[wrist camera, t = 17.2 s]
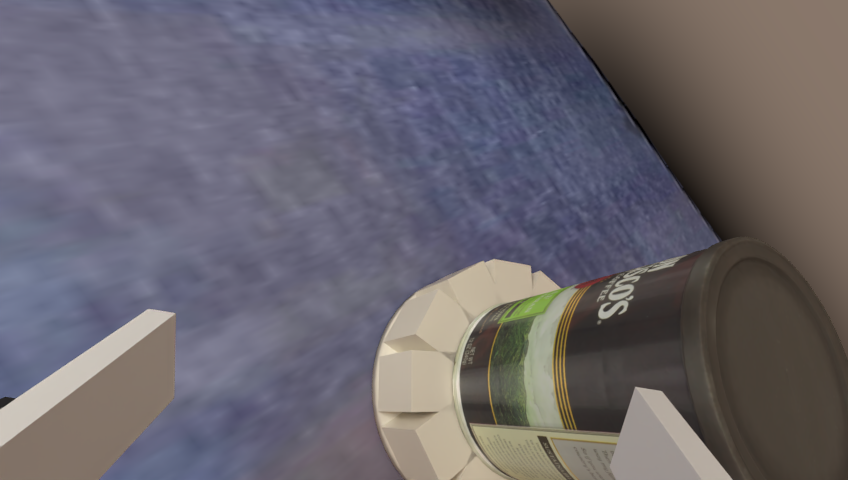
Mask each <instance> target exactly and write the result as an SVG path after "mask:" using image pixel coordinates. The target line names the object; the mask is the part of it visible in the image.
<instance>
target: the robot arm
mask: <svg viewBox="0 0 848 480" xmlns="http://www.w3.org/2000/svg"><path fill="white" fill-rule="evenodd" d="M175 327H176V313H171V312H165V311H159V310H152V309H148V310H146V311H145V312H143V313H142V314H140V315H139V316H137V317H136V318H134V319H133V320H131V321H130V322H129V323H127V324H126V325H124V326H123V327H121V328H120V329H118V330H117V331H115V332H114V333H112V334H111V335H109V336H108V337H106V338H105V339H103V340H102V341H100V342H99V343H98V344H96V345H95V346H93V347H92V348H90V349H89V350H87V351H86V352H84V353H83V354H81V355H80V356H78V357H77V358H75V359H74V360H72V361H71V362H69V363H68V364H67V365H65V366H64V367H62V368H61V369H59V370H58V371H56V372H55V373H53V374H52V375H50V376H49V377H47V378H46V379H44V380H43V381H41V382H40V383H38V384H37V385H36V386H34V387H33V388H31V389H30V390H28V391H27V392H25V393H24V394H22V395H21V396H19V397H18V398H16V399H15V398H9V397H4V398H2V399H0V480H99V479H100V477H101V476H102V475H103V474H104V473H105V472H106V471H107V470H108V469H109V468H110V467H111V466H112V465H113V463H114V462H115V461H116V460H117V459H118V458H119V457H120V456H121V455H122V454H123V453H124V452H125V450H126V449H127V448H128V447H129V446H130V445H131V444H132V443H133V442H134V441H135V440H136V439H137V438H138V436H139V435H140V434H141V433H142V432H143V431H144V430H145V429H146V428H147V427H148V426H149V425H150V424H151V422H152V421H153V420H154V419H155V418H156V417H157V416H158V415H159V414H160V413H161V412H162V411H163V409H164V408H165V407H166V406H167V405H168V404H169V403H170V402H171V401H172V400H173V399H174V381H175ZM610 469H611V471H612V473H613V475H614V477H615V479H616V480H732V478H731V477H730V476H729V475H728V473H727V472H726V471H725V470H724V468H723V467H722V466H721V465H720V463H719V462H718V461H717V460H716V458H715V457H714V456H713V455H712V453H711V452H710V451H709V450H708V448H707V447H706V446H705V445H704V443H703V442H702V441H701V440H700V438H699V437H698V436H697V435H696V433H695V432H694V431H693V430H692V428H691V427H690V426H689V425H688V423H687V422H686V421H685V420H684V418H683V417H682V416H681V415H680V413H679V412H678V411H677V410H676V408H675V407H674V406H673V405H672V403H671V402H670V401H669V400H668V398H667V397H666V396H665V395H664V393H663V392H662V391H658V390H652V389H646V388H640V387H635V389H634V392H633V395H632V399H631V402H630V405H629V408H628V411H627V414H626V417H625V420H624V423H623V426H622V430H621V433H620V436H619V439H618V442H617V445H616V448H615V451H614V454H613V458H612V461H611V464H610Z"/></svg>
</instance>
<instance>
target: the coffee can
mask: <svg viewBox="0 0 848 480" xmlns="http://www.w3.org/2000/svg"><path fill="white" fill-rule="evenodd" d="M635 387H640V388H646V389H652V390H658V391H662V392H663V393H664V395H665V396H666V397H667V398H668V400H669V401H670V402H671V403H672V405H673V406H674V407H675V408H676V410H677V411H678V412H679V413H680V415H681V416H682V417H683V418H684V420H685V421H686V422H687V423H688V425H689V426H690V427H691V428H692V430H693V431H694V432H695V433H696V435H697V436H698V437H699V438H700V440H701V441H702V442H703V443H704V445H705V446H706V447H707V448H708V450H709V451H710V452H711V453H712V455H713V456H714V457H715V458H716V460H717V461H718V462H719V463H720V465H721V466H722V467H723V468H724V470H725V471H726V472H727V473H728V475H729V476H730V477H731V478H732V480H848V360H847V357H846V355H845V352H844V350H843V347H842V344H841V342H840V339H839V337H838V335H837V332H836V330H835V328H834V326H833V325H832V323H831V320H830V317H829V316H828V314H827V312H826V311H825V309H824V307H823V305H822V304H821V302H820V301H819V299H818V297H817V296H816V294H815V293H814V291H813V290H812V288H811V287H810V285H809V284H808V283H807V281H806V280H805V279H804V278H803V276H802V275H801V274H800V272H799V271H798V270H797V269H796V268H795V267H794V266H793V265H792V264H791V263H790V262H789V261H788V260H787V259H786V258H785V257H784V256H783V255H782V254H780V253H779V252H778V251H777V250H775V249H774V248H773V247H771V246H769V245H768V244H766V243H764V242H763V241H760V240H758V239H755V238H751V237H738V238H732V239H729V240H726V241H722V242H719V243H717V244H714V245H712V246H711V247H709V248H708V249H704V250H701V251H696V252H693V253H691V254H687V255H684V256H680V257H676V258H671V259H668V260H665V261H662V262H658V263H654V264H651V265H646V266H643V267H640V268H636V269H632V270H629V271H625V272H621V273H617V274H613V275H610V276H605V277H602V278H598V279H595V280H591V281H588V282H584V283H581V284H577V285H573V286H570V287H566V288H562V289H558V290H555V291H551V292H548V293H544V294H540V295H536V296H533V297H529V298H525V299H521V300H517V301H513V302H506V303H501V304H497V305H494V306H492V307H490V308H488V309H486V310H485V311H483V312H482V313H481V314H480V315H478V316H477V317H476V318H475V319H474V321H473V322H472V323H471V324H470V326H469V327H468V328H467V330H466V332H465V333H464V335H463V337H462V339H461V341H460V344H459V346H458V349H457V352H456V356H455V361H454V368H453V377H452V390H453V400H454V407H455V411H456V415H457V419H458V422H459V425H460V428H461V430H462V433H463V435H464V437H465V439H466V440H467V442H468V444H469V446H470V447H471V449H472V450H473V452H474V453H475V454H476V456H477V457H478V458H479V459H480V460H481V461H482V462H483V463H484V464H485V465H486V466H487V467H488V468H489V469H491V470H492V471H493V472H495V473H496V474H498V475H499V476H501V477H503V478H505V479H508V480H616V479H615V477H614V475H613V473H612V471H611V469H610V464H611V461H612V458H613V454H614V451H615V448H616V445H617V442H618V439H619V436H620V433H621V430H622V426H623V423H624V420H625V417H626V414H627V411H628V408H629V405H630V402H631V399H632V395H633V392H634V389H635Z"/></svg>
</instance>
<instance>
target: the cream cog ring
mask: <svg viewBox="0 0 848 480" xmlns="http://www.w3.org/2000/svg"><path fill="white" fill-rule="evenodd" d="M558 289H561V288H560V287H559V286H558V285H556V284H555V283H554V282H553V281H552V280H551V279H549V278H548V277H547V276H546V275H545V274H544V273H543V272H541V271H538V272H535V273H532V274H531V266H529V265H524V264H518V263H513V262H507V261H502V260H496V259H493V260H490V261H488V262H485V263H484V261H481V262H479V263H476V264H474V265H472V266H469V267H467V268H464V269H462V270H460V271H457V272H455V273H452V274H450V275H448V276H446V277H444V278H442V279H440V280H438V281H436V282H434V283H432V284H430V285H428V286H425V287H423V288H422V289H420V290H419V291H417V292H415V293H414V294H413V295H411V296H410V297H409V298H408V299H407V300H406V301H405V302H404V303H403V304H402V305H401V306H400V307H399V308H398V310H397V311H396V312H395V313H394V315H393V316H392V318H391V319H390V321H389V323H388V324H387V326H386V328H385V330H384V333H383V335H382V337H381V340H380V343H379V346H378V349H377V352H376V356H375V361H374V366H373V375H372V403H373V410H374V417H375V421H376V425H377V429H378V433H379V436H380V439H381V441H382V444H383V446H384V449H385V451H386V453H387V455H388V456H389V458H390V460H391V462H392V464H393V465H394V467H395V468H396V470H397V471H398V472H399V474H400V475H401V476H402V478H403V479H404V480H508V479H505V478H503V477H501V476H499V475H498V474H496V473H495V472H493V471H492V470H491V469H489V468H488V467H487V466H486V465H485V464H484V463H483V462H482V461H481V460H480V459H479V458H478V457H477V456H476V454H475V453H474V452H473V450H472V449H471V447H470V446H469V444H468V442H467V440H466V439H465V437H464V435H463V433H462V430H461V428H460V425H459V422H458V419H457V415H456V411H455V407H454V400H453V390H452V377H453V368H454V361H455V356H456V352H457V349H458V346H459V344H460V341H461V339H462V337H463V335H464V333H465V332H466V330H467V328H468V327H469V326H470V324H471V323H472V322H473V321H474V319H475V318H476V317H477V316H478V315H480V314H481V313H482V312H483V311H485V310H486V309H488V308H490V307H492V306H494V305H497V304H501V303H506V302H513V301H517V300H521V299H525V298H529V297H533V296H536V295H540V294H544V293H548V292H551V291H555V290H558Z"/></svg>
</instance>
